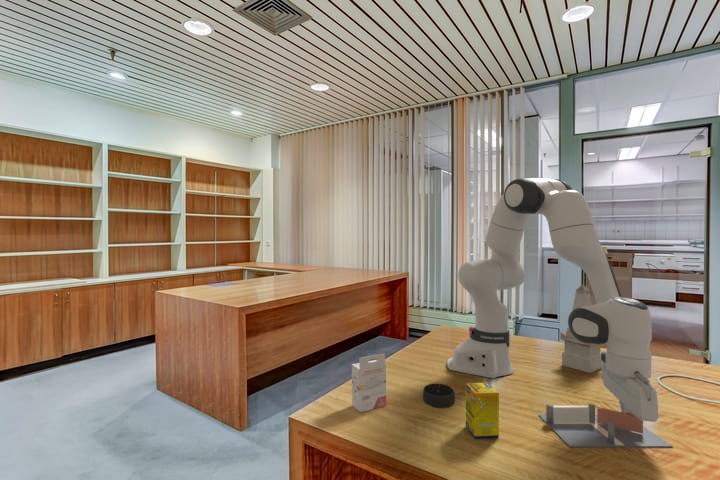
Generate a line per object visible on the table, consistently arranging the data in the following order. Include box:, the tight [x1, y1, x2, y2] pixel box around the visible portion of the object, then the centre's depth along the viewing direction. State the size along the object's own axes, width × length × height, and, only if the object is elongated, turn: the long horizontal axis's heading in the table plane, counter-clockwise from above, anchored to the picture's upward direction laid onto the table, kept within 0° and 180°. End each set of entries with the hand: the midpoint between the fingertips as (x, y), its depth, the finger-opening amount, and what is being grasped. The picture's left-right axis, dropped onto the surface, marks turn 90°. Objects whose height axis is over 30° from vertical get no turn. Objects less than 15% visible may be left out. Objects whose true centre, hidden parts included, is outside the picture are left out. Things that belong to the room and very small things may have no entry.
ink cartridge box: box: [351, 353, 387, 413], centre depth 102 cm, size 9×5×15 cm, turn 118°
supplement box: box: [465, 382, 500, 441], centre depth 88 cm, size 6×6×11 cm
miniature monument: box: [559, 284, 602, 374], centre depth 133 cm, size 10×10×30 cm
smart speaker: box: [422, 383, 456, 409], centre depth 105 cm, size 9×9×4 cm
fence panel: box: [596, 406, 644, 434], centre depth 89 cm, size 9×1×4 cm, turn 55°
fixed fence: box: [545, 402, 614, 444], centre depth 88 cm, size 12×10×5 cm
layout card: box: [538, 414, 674, 448], centre depth 89 cm, size 23×14×1 cm, turn 90°
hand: (627, 421), depth 90 cm, fingers closed
